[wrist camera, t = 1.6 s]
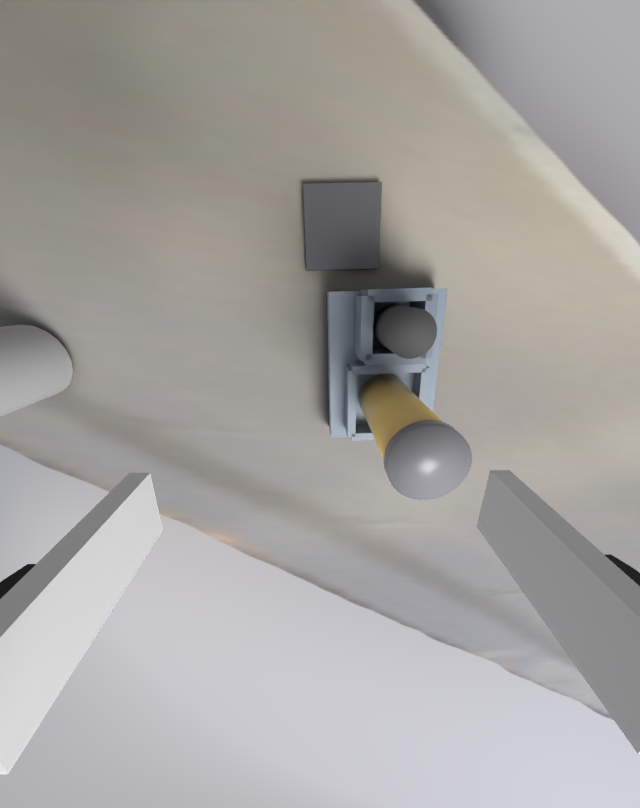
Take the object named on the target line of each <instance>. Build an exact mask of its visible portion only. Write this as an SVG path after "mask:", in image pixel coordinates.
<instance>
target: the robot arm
mask: <svg viewBox="0 0 640 808" xmlns="http://www.w3.org/2000/svg"><path fill="white" fill-rule="evenodd" d="M477 528H478V529H479V530H480V532H481V533H482V535H483V536H484V537H485V539H486V540H487V542H488V543H489V544H490V546H491V547H492V549H493V550H494V552H495V553H496V554H497V556H498V557H499V559H500V560H501V561H502V563H503V564H504V566H505V567H506V568H507V570H508V571H509V573H510V574H511V575H512V577H513V578H514V580H515V581H516V583H517V584H518V585H519V587H520V588H521V590H522V591H523V592H524V594H525V595H526V597H527V598H528V599H529V601H530V602H531V604H532V605H533V606H534V608H535V609H536V611H537V612H538V614H539V615H540V616H541V618H542V619H543V621H544V622H545V623H546V625H547V626H548V628H549V629H550V630H551V632H552V633H553V635H554V636H555V637H556V639H557V640H558V642H559V643H560V645H561V646H562V647H563V649H564V650H565V652H566V653H567V654H568V656H569V657H570V659H571V660H572V661H573V663H574V664H575V666H576V667H577V668H578V670H579V671H580V673H581V674H582V676H583V677H584V678H585V680H586V681H587V683H588V684H589V685H590V687H591V688H592V690H593V691H594V692H595V694H596V695H597V697H598V698H599V699H600V701H601V702H602V704H603V705H604V707H605V708H606V709H607V711H608V712H609V714H610V715H611V716H612V718H613V719H614V721H615V722H616V723H617V725H618V726H619V727H620V729H621V730H622V732H623V733H624V735H625V736H626V738H627V739H628V740H629V742H630V743H631V744H632V746H633V747H634V749H635V750H636V751H637V753H638V754H640V573H639V572H638V571H636V570H635V569H634V568H632V567H630V566H629V565H627V564H625V563H624V562H622V561H620V560H619V559H617V558H616V557H614V556H612V555H604V554H603V553H602V552H600V551H599V550H598V549H597V548H596V547H595V546H594V545H593V544H592V543H590V542H589V541H588V540H587V539H586V538H585V537H584V536H583V535H581V534H580V533H579V532H578V531H577V530H576V529H575V528H574V527H572V526H571V525H570V524H569V523H568V522H567V521H566V520H565V519H563V518H562V517H561V516H560V515H559V514H558V513H557V512H556V511H554V510H553V509H552V508H551V507H550V506H549V505H548V504H547V503H545V502H544V501H543V500H542V499H541V498H540V497H539V496H538V495H537V494H535V493H534V492H533V491H532V490H531V489H530V488H529V487H528V486H526V485H525V484H524V483H523V482H522V481H521V480H520V479H519V478H517V477H516V476H515V475H514V474H513V473H512V472H511V471H510V470H490V473H489V477H488V482H487V486H486V490H485V494H484V498H483V502H482V507H481V511H480V515H479V519H478V523H477ZM162 531H163V529H162V524H161V520H160V515H159V511H158V506H157V502H156V497H155V493H154V488H153V483H152V479H151V474H150V473H129V474H128V475H127V476H126V477H125V478H124V479H123V480H122V481H121V482H120V483H119V484H118V485H117V486H116V487H115V488H114V489H113V490H112V491H111V492H110V493H109V494H108V495H107V496H106V497H105V498H104V499H103V500H102V501H101V502H100V503H98V504H97V505H96V507H94V508H93V509H92V510H91V511H90V513H88V514H87V515H86V516H85V517H84V518H83V519H82V520H81V521H80V522H79V523H78V524H77V525H76V526H75V527H74V528H73V529H72V530H71V531H70V532H69V533H68V534H67V535H66V536H65V537H64V538H63V539H62V540H61V541H60V542H58V543H57V544H56V545H55V546H54V547H53V548H52V549H51V550H50V552H49V553H47V554H46V555H45V556H44V557H43V558H42V559H41V560H40V561H39V562H38V563H37V564H27V565H26V566H24V567H23V568H22V569H20V570H18V571H17V572H15V573H14V574H12V575H10V576H9V577H7V578H6V579H4V580H3V581H2V582H0V774H8V773H9V772H10V770H11V769H12V767H13V766H14V764H15V762H16V761H17V759H18V758H19V756H20V754H21V753H22V751H23V750H24V748H25V746H26V745H27V743H28V742H29V740H30V739H31V737H32V736H33V734H34V732H35V731H36V729H37V728H38V726H39V724H40V723H41V721H42V720H43V718H44V717H45V715H46V713H47V712H48V710H49V709H50V707H51V706H52V704H53V702H54V701H55V699H56V698H57V696H58V695H59V693H60V692H61V690H62V688H63V686H64V685H65V684H66V682H67V680H68V679H69V677H70V676H71V674H72V673H73V671H74V669H75V668H76V666H77V665H78V663H79V662H80V660H81V658H82V657H83V655H84V654H85V652H86V651H87V649H88V647H89V646H90V644H91V643H92V641H93V640H94V638H95V636H96V635H97V633H98V632H99V630H100V628H101V627H102V625H103V624H104V622H105V621H106V619H107V617H108V616H109V614H110V613H111V611H112V610H113V608H114V606H115V605H116V603H117V602H118V600H119V599H120V597H121V595H122V594H123V592H124V591H125V589H126V588H127V586H128V584H129V583H130V581H131V579H132V578H133V576H134V575H135V573H136V572H137V570H138V569H139V567H140V565H141V564H142V562H143V561H144V559H145V557H146V556H147V554H148V552H149V551H150V550H151V548H152V546H153V545H154V543H155V542H156V540H157V539H158V537H159V536H160V534H161V532H162Z"/></svg>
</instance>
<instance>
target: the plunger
mask: <svg viewBox="0 0 640 808" xmlns="http://www.w3.org/2000/svg"><path fill="white" fill-rule="evenodd" d="M373 331H374V335H375V337H376V339H377V340H378V341H379V342H380V343H381V344H382V345H384V346H385V347H386V348H388V349H389V350H390V351H392V352H393V353H395V354H396V355H397V356H399V357H402V358H405V359H414V358H417V357H420V356H422V355H424V354H425V353H426V352H428V351H429V350H430V348H431V347H432V346H433V344H434V342H435V340H436V336H437V325H436V322H435V319H434V318H433V316H432V315H431V314H430V313H429V312H427V311H426V310H424V309H421V308H415V307H408V306H401V305H391V306H388V307H386V308H384V309H383V310H381V311H380V312H379V313H378V315H377V316H376V318H375V321H374V325H373Z"/></svg>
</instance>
